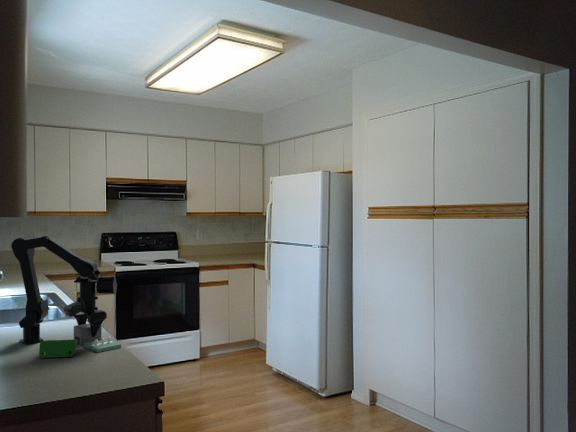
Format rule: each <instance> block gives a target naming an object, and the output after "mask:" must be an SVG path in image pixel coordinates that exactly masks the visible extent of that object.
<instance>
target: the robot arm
mask: <svg viewBox="0 0 576 432" xmlns="http://www.w3.org/2000/svg"><path fill="white" fill-rule="evenodd" d="M10 244H11V246H10V247H11V250H12V253H13V255H14V257H15V258H16V259H17V261H18V263H19V266H20V271H21V275H22V281H23V286H24V290H25V295H26V304H25V316H24V317H22V319H21V320H20V321H19V322H18V325H19V328H22V338H21V339H19V342H21V343H22V344H24V345H29V344H34V343H40V341H45V340H44V339H43V338H41V324H42V323H43V322H44V319H45V318H46V317H47V316H48V315H49V310H50V307H49V302H48V299H43V298H42V295H41V293H40V292H41V291H40V288H39V282H38V279H37V273H36V268H35V262H34V257H35V253H36V252H35V250H36V248H37V249H38V248H45V249H47V250H48V251H50V253H53V254H54V255H55V256H57V257H59V258H60V259H61V260H63V261H65V262H66V263H67V264H69V265H70V266H71V267H72V268H73V270H74V271H75V272H76V273H77V274H78V275H79V276H77V277H76V279H75V280H74V281H73V283H74V284H77V283H78V284H79V296H77V297H76V301H74V302H72V303H70V304H67V305H65V306H63V308H62V309H63V311H64V313H65V316H66V317H67V316H68V317H69V318H72V317H73V318H74V319H75V321H76V325H82V324H87V323H90V328H91V335H92V337H95V336H96V334H97V332H98V330H99V328H100V326H101V325H102V324H103V322H105V320H106V319H107V318H108V313H107V312H106V311H105V310H102V309H99V307H98V306H97V303H96V302H97V301H96V300H99V297H98V296H97V293H98V294H99V295H116V294H117V291H118V290H117V289H118V283H117V280H116V276H115V275H111V276H104V275H103V274H102V273H101V271H100V270H99V268H98V263H96V261H94V260H91V259H89V258H86V257H84V256H81V255H80V254H77V253H75V252H74V251H72V250H71V249H69V248H68V247H66V246H65V245H63V243H60V242H59V241H58V240H56V239H55V238H53V237H52V236H51V235H43V236H41V237H35V238H30V237H28V236H25V237H18V238H15V239H14V240H12V242H11V243H10ZM96 292H97V293H96Z"/></svg>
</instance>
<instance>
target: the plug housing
mask: <svg viewBox="0 0 576 432" xmlns="http://www.w3.org/2000/svg"><path fill="white" fill-rule="evenodd" d="M102 330H103V329H102V324H101V326H100V328H99V330H98V332H97V334H96V336H95V337H92V335H91V328H90V323H89V322H87V323H86V324H82V325H78V324H76V325H74V326H73V340H77V339H78V344H79V345H80V344H81V346H82V344H83V345H84V344H85V343H90V342H95V339H98V341H99V340H101V338H102Z"/></svg>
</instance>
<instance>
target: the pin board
mask: <svg viewBox="0 0 576 432" xmlns="http://www.w3.org/2000/svg"><path fill="white" fill-rule="evenodd" d="M83 345H84V346H83V347H84V348H86V349H89V350H91V351H93V352H96V353H102V351H103V352H107V351H112V350H116V349H120V348H122V344H121V343H119V342H117V341H114V340H112V339H111V336H107V338H106V339H105V338H104V337H101V340H99V341H98V339H95V342H90V343H85V344H83Z"/></svg>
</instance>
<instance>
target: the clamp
mask: <svg viewBox="0 0 576 432" xmlns="http://www.w3.org/2000/svg"><path fill="white" fill-rule="evenodd" d="M77 344H79V342H78V339H77V340H74V339H59V340H58V339H50V340H49V339H48V340H44V341H40V342H39V352H38V354H39V357H40V358H45V359H46V358H47V359H48V358H71V357H73V356H75V355H76V351H77Z"/></svg>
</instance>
